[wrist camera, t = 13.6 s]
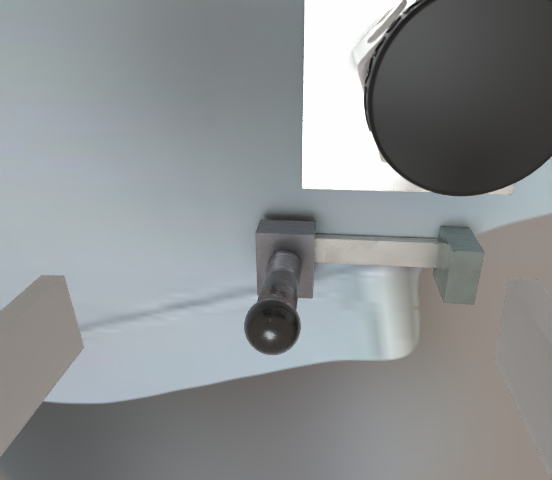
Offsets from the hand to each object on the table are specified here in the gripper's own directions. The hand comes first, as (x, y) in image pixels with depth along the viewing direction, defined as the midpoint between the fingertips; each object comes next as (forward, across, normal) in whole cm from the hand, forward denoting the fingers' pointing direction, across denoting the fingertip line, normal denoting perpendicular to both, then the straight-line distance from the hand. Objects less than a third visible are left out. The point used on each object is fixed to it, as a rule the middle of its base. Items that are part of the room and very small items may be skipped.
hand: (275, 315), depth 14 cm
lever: (+20, -2, -8) cm, 21 cm away
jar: (+20, +7, +5) cm, 22 cm away
